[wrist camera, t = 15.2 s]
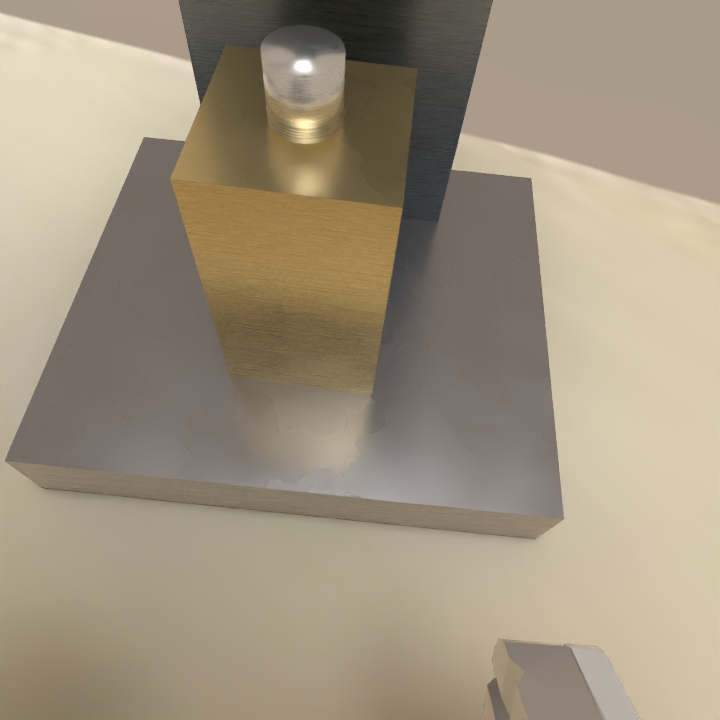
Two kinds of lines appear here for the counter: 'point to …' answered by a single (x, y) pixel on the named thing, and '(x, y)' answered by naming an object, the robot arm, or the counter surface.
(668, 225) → the counter surface
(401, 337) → the press
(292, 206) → the block
